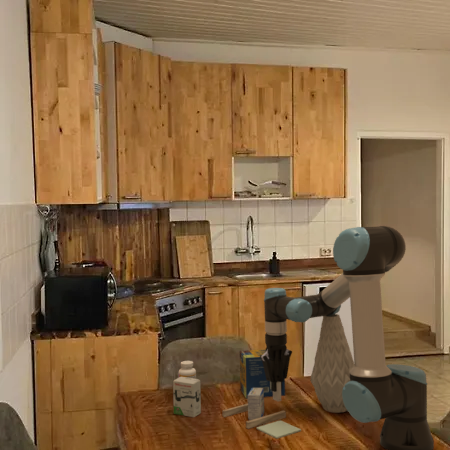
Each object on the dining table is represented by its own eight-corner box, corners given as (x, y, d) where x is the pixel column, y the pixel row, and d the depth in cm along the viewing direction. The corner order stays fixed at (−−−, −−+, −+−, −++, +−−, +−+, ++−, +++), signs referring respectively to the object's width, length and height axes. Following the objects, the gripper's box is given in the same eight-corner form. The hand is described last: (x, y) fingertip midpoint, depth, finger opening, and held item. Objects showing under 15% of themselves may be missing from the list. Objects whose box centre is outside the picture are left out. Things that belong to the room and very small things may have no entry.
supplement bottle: (176, 394, 222) (175, 361, 222) (192, 392, 225) (191, 359, 225) (182, 399, 216) (181, 365, 216) (199, 397, 219) (198, 363, 219)
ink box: (172, 414, 202) (172, 380, 201) (180, 409, 206) (179, 376, 206) (194, 417, 198) (193, 383, 197) (201, 413, 202) (200, 379, 202)
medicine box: (261, 420, 193) (260, 395, 193) (247, 420, 194) (247, 394, 194) (264, 412, 201) (263, 387, 201) (251, 411, 202) (251, 387, 202)
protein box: (239, 390, 226) (239, 350, 226) (278, 387, 229) (277, 348, 228) (245, 399, 216) (244, 357, 215) (285, 395, 218) (285, 354, 218)
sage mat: (301, 430, 184) (301, 429, 184) (276, 438, 178) (276, 437, 178) (280, 421, 192) (280, 420, 192) (256, 429, 186) (256, 427, 186)
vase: (308, 416, 197) (303, 320, 196) (315, 399, 213) (310, 310, 212) (359, 418, 193) (354, 320, 191) (362, 401, 208) (357, 310, 207)
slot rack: (285, 417, 196) (285, 411, 196) (248, 428, 187) (248, 422, 187) (259, 406, 208) (259, 400, 208) (222, 416, 198) (222, 410, 198)
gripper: (283, 328, 209) (284, 393, 210) (254, 333, 202) (255, 401, 203) (297, 332, 203) (298, 398, 204) (268, 337, 196) (269, 407, 196)
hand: (277, 399), depth 203 cm, fingers closed
